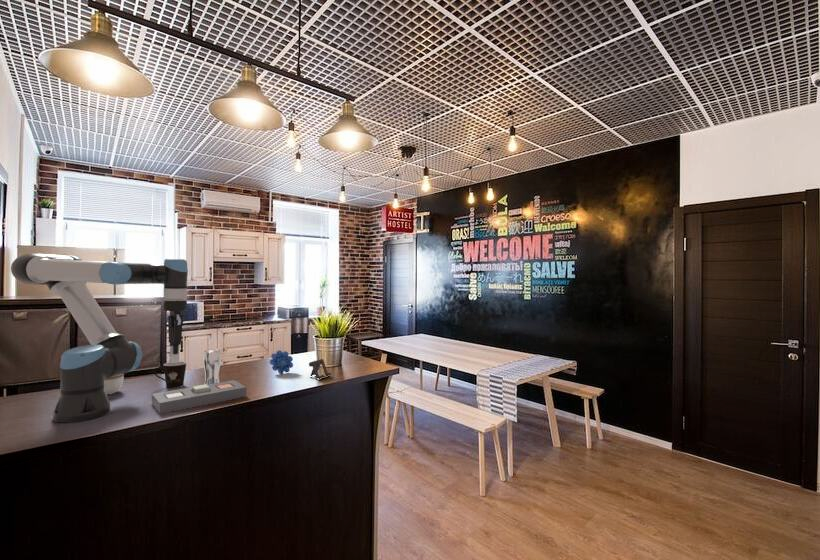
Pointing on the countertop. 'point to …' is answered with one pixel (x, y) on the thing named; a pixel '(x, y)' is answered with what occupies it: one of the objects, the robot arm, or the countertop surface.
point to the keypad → (197, 397)
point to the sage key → (200, 388)
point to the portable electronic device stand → (316, 367)
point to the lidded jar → (113, 384)
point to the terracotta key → (224, 386)
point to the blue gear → (281, 361)
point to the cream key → (174, 395)
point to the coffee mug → (173, 374)
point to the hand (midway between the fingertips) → (174, 362)
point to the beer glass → (212, 366)
